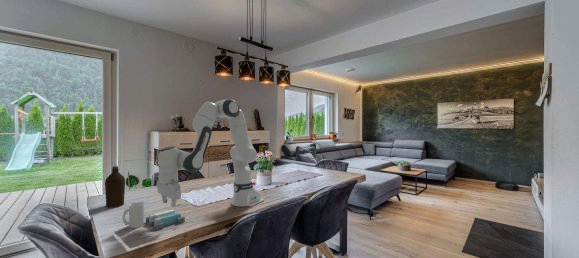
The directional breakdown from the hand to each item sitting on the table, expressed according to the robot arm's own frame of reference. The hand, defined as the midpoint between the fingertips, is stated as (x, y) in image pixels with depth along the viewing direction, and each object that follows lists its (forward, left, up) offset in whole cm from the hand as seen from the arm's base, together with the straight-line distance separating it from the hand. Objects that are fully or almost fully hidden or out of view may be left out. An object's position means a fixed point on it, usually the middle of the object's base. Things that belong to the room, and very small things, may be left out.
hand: (169, 204), depth 127 cm
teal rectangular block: (+1, 0, -10) cm, 10 cm away
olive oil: (+9, -56, -11) cm, 58 cm away
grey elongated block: (0, -7, -10) cm, 12 cm away
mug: (+13, -9, -11) cm, 20 cm away
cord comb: (0, -3, -11) cm, 11 cm away
